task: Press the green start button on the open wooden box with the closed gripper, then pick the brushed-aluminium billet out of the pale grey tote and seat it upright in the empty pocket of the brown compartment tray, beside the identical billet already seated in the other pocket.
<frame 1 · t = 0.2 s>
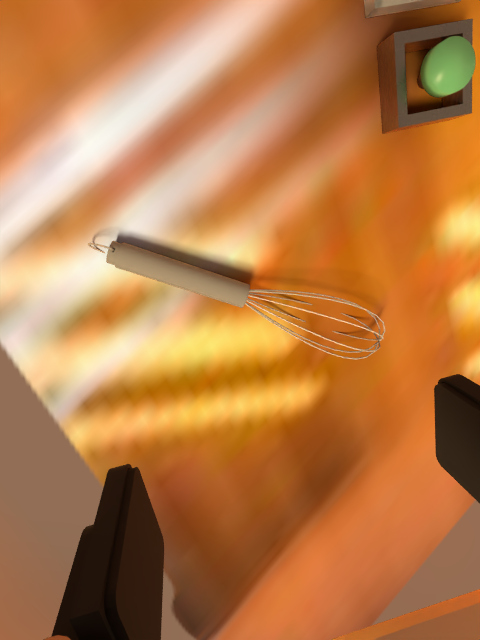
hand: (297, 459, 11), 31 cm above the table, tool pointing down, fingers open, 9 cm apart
start button: (438, 72, 34), point 4 cm above the table, slide at 0.0 cm
kitchen whisk: (244, 295, 42), on the table
open wooden box: (415, 84, 38), on the table
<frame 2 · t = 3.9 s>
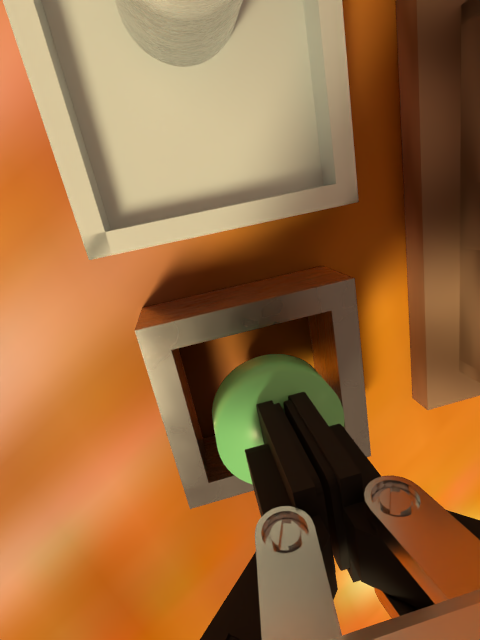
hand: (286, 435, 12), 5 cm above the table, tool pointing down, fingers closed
start button: (267, 401, 14), point 3 cm above the table, slide at 0.4 cm
tote: (177, 4, 12), on the table
open wooden box: (251, 368, 17), on the table
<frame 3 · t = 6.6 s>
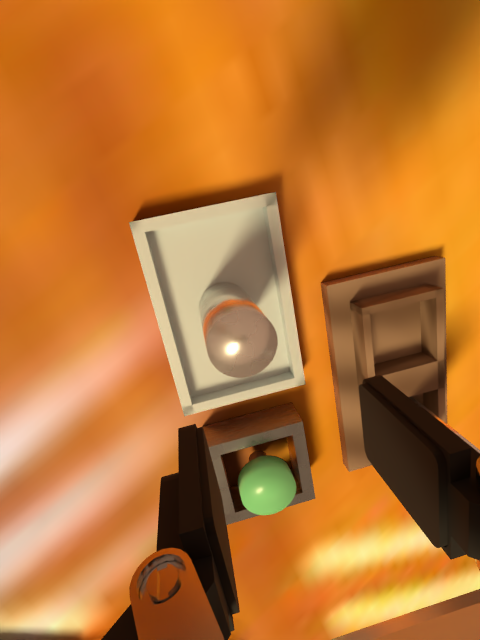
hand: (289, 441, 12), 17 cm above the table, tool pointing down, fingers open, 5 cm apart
billet: (224, 307, 28), point 1 cm above the table, touching tote
brown compartment tray: (385, 367, 32), on the table
start button: (263, 474, 30), point 3 cm above the table, slide at 0.6 cm
tote: (223, 305, 28), on the table
open wooden box: (255, 451, 33), on the table
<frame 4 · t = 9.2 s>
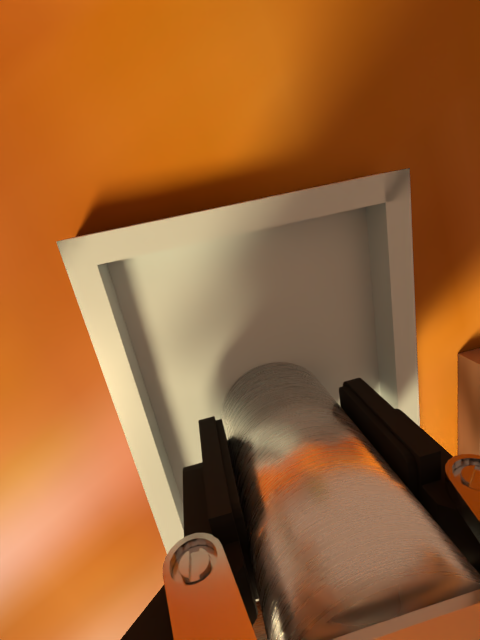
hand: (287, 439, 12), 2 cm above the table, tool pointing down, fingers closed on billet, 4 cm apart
billet: (274, 411, 13), point 1 cm above the table, touching gripper, tote
tote: (270, 403, 14), on the table
open wooden box: (315, 637, 18), on the table
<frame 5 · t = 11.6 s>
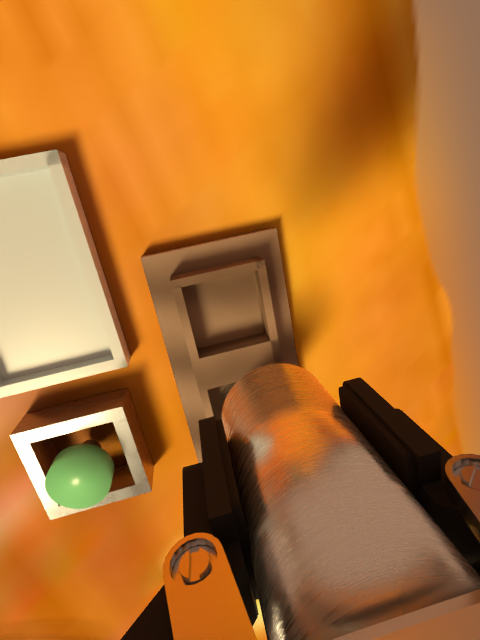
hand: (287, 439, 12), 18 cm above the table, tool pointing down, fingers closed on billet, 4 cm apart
billet: (275, 412, 13), point 16 cm above the table, touching gripper
brown compartment tray: (232, 349, 30), on the table
start button: (85, 464, 27), point 3 cm above the table, slide at 0.6 cm
tote: (30, 279, 26), on the table
open wooden box: (93, 441, 30), on the table
when the fingers open (4 cm above the table, at t = 14.2 s): billet drops 2 cm, resting on brown compartment tray.
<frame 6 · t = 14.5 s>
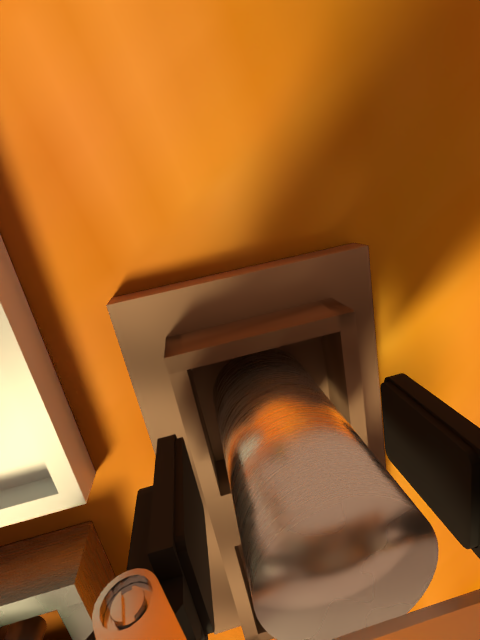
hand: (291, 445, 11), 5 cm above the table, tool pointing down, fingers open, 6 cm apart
billet: (261, 392, 15), point 1 cm above the table, touching brown compartment tray
brown compartment tray: (273, 451, 17), on the table
open wooden box: (35, 605, 18), on the table
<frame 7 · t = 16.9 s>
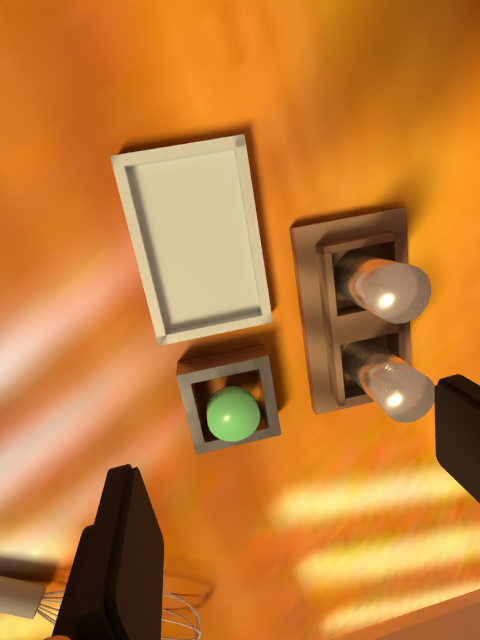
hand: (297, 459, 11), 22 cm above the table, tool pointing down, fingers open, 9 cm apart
billet: (353, 276, 32), point 1 cm above the table, touching brown compartment tray
brown compartment tray: (352, 314, 34), on the table
start button: (231, 406, 32), point 3 cm above the table, slide at 0.6 cm
billet loaded: (361, 357, 34), point 1 cm above the table, touching brown compartment tray
tote: (198, 245, 30), on the table
kitchen whisk: (53, 582, 39), on the table
open wooden box: (227, 390, 35), on the table
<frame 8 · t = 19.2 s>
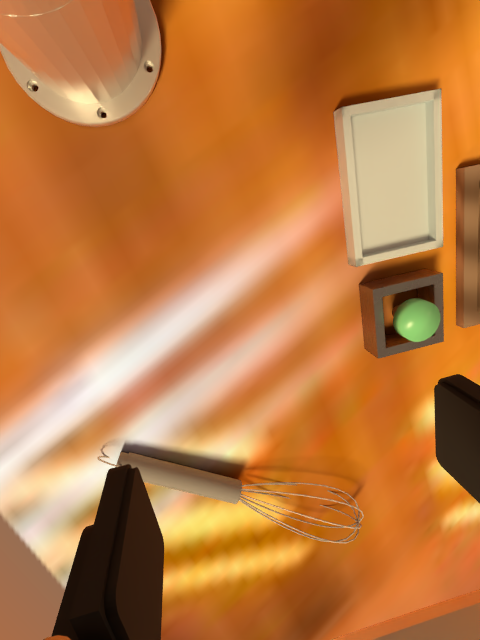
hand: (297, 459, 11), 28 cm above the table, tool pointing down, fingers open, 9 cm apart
start button: (409, 316, 39), point 3 cm above the table, slide at 0.6 cm
tote: (386, 183, 38), on the table
kitchen whisk: (237, 480, 46), on the table
open wooden box: (393, 309, 42), on the table
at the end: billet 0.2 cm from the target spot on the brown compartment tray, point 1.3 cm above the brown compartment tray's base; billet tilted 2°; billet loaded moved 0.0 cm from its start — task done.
